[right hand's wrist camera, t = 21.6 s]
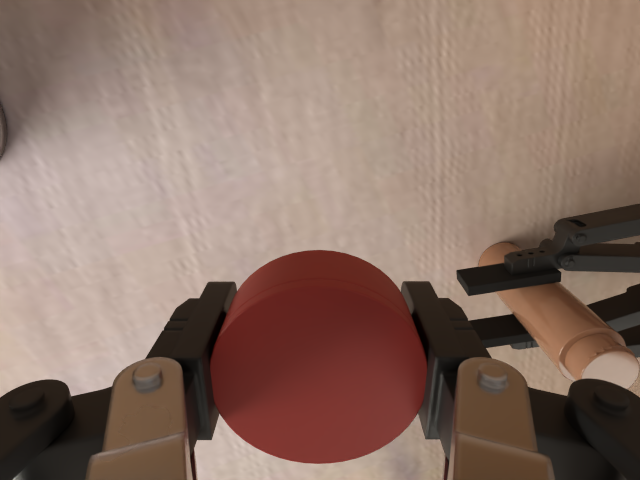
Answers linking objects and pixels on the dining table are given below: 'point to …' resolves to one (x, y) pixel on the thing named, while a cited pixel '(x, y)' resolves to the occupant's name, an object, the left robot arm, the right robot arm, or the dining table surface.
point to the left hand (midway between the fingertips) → (464, 309)
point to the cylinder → (567, 329)
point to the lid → (318, 359)
